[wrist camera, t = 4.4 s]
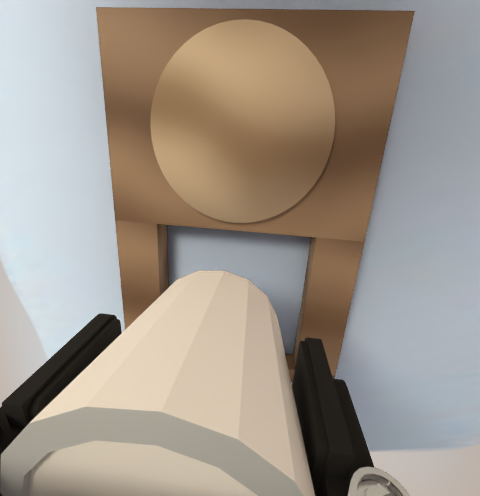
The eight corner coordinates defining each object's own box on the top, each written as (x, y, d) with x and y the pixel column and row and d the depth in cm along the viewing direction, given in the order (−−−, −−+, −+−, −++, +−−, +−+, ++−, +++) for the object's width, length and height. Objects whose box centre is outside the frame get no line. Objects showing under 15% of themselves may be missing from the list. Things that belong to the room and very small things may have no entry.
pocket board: (114, 24, 13) (91, 3, 12) (397, 29, 12) (418, 6, 10) (138, 346, 19) (125, 363, 18) (327, 370, 18) (333, 391, 17)
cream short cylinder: (171, 389, 13) (79, 610, 7) (122, 271, 11) (-77, 428, 5) (303, 375, 12) (344, 628, 6) (275, 241, 10) (288, 394, 4)
